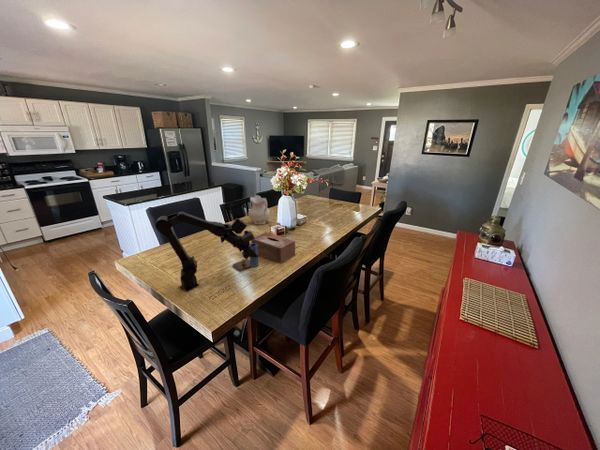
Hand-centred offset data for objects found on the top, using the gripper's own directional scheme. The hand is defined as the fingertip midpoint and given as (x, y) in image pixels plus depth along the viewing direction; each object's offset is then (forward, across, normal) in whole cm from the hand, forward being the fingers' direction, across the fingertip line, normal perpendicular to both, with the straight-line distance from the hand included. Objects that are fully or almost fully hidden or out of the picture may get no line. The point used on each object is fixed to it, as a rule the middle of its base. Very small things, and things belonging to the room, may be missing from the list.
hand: (256, 254), depth 134 cm
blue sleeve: (+4, 0, +6) cm, 7 cm away
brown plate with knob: (+4, +10, +12) cm, 16 cm away
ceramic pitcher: (+25, +84, -9) cm, 88 cm away
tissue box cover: (+19, +20, -3) cm, 28 cm away
